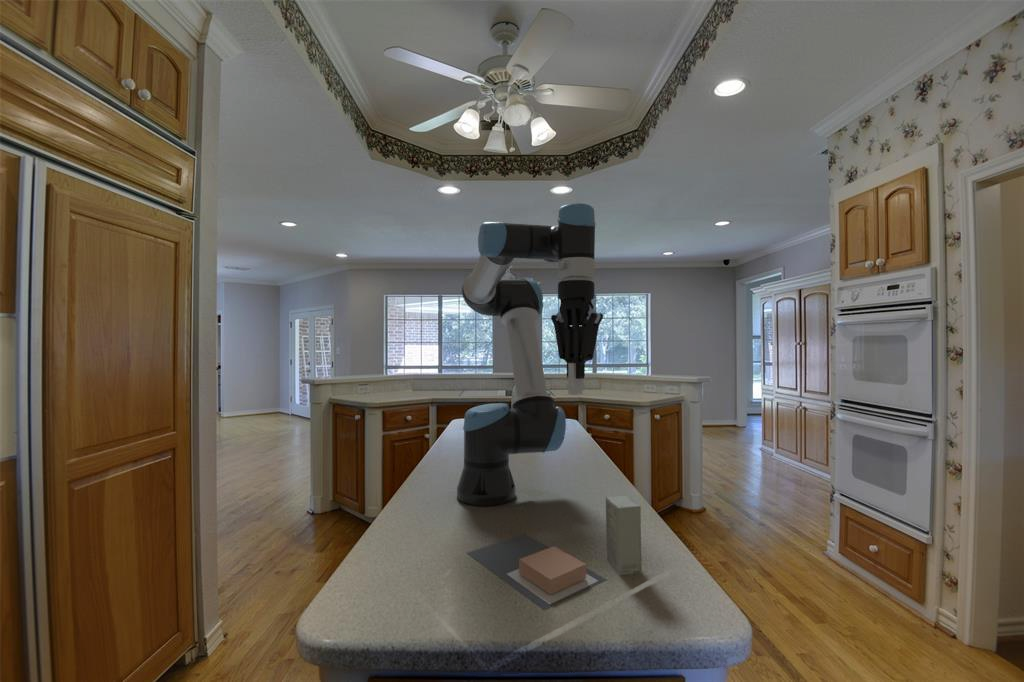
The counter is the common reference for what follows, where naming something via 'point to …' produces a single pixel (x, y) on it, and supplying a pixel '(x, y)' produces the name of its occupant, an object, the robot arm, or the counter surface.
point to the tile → (552, 569)
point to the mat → (506, 565)
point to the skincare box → (623, 534)
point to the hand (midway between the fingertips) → (575, 394)
